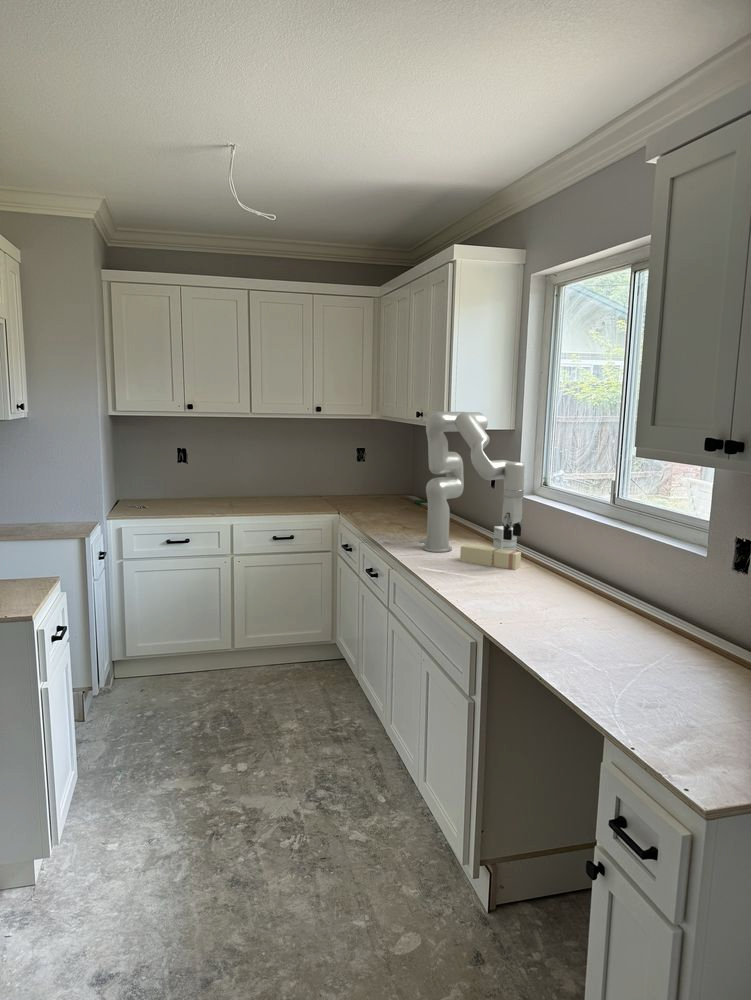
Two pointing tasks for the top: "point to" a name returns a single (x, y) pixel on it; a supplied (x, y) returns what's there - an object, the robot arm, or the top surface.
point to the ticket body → (477, 554)
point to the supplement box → (502, 543)
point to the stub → (507, 559)
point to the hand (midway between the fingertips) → (512, 537)
